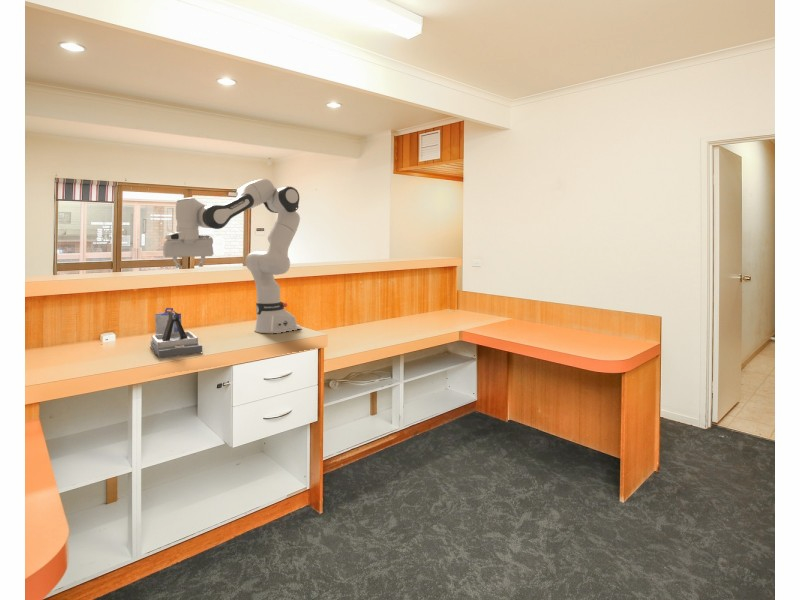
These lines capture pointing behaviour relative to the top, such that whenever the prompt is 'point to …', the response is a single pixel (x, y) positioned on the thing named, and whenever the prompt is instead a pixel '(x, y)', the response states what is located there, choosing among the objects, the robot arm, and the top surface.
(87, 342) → the top surface
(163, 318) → the ink cartridge box
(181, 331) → the black mini tripod
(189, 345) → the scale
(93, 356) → the top surface
